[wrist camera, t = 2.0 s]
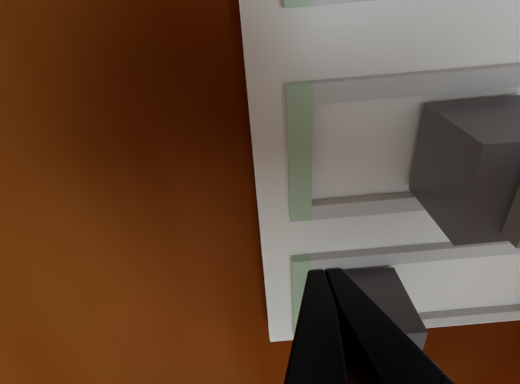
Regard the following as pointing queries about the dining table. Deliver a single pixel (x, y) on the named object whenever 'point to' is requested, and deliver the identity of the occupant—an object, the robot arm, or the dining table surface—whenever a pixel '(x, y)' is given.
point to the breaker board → (370, 145)
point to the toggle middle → (470, 169)
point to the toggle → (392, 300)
